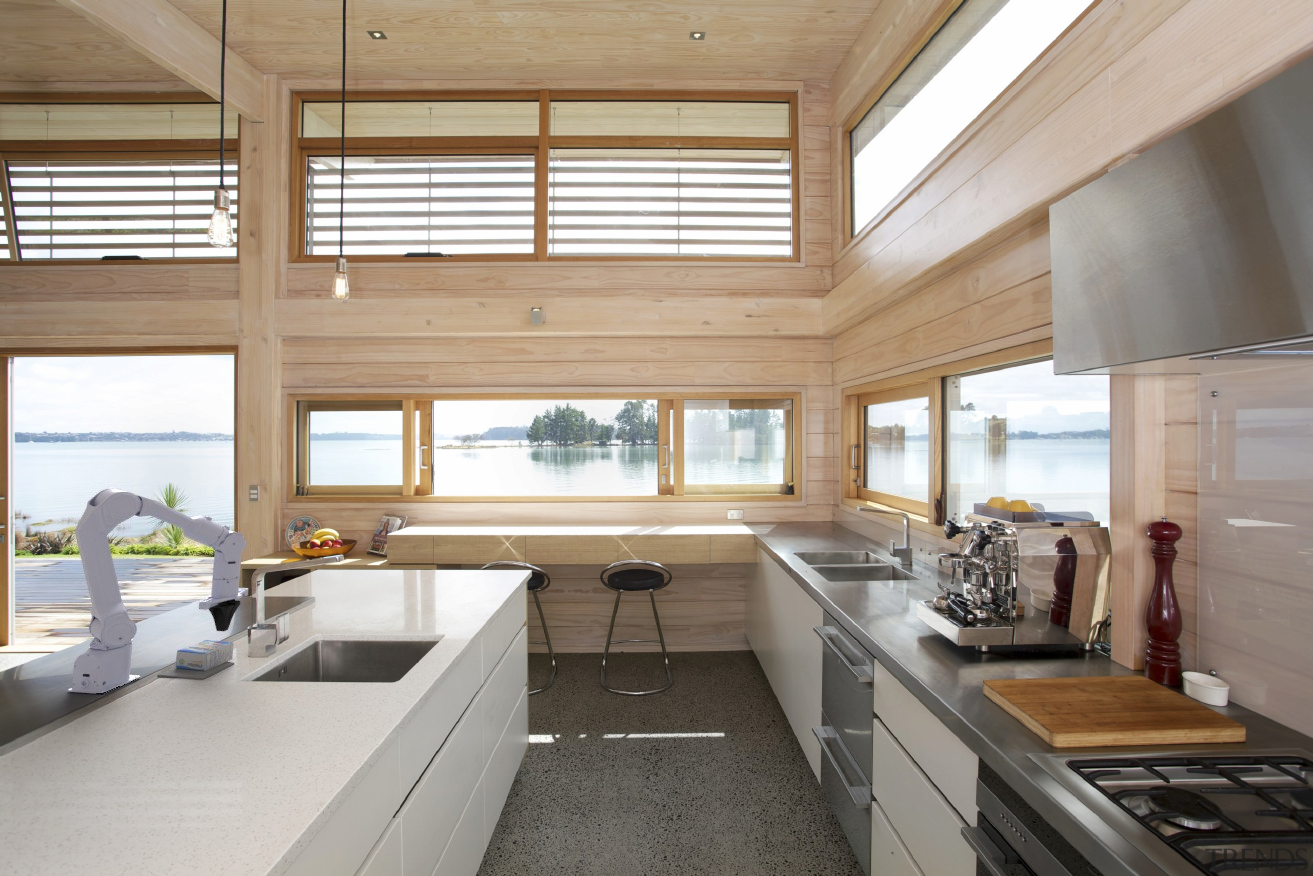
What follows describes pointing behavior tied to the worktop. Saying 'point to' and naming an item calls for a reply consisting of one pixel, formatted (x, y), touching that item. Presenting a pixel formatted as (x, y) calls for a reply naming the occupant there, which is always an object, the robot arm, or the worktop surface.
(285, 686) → the worktop surface
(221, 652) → the medicine box
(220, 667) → the grey rubber pad
